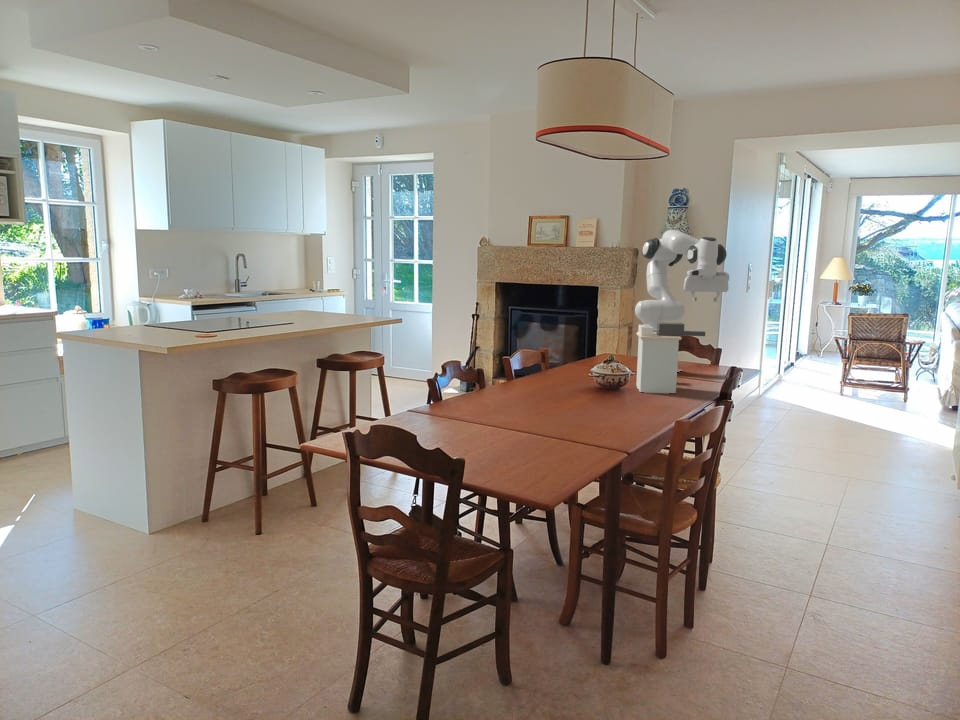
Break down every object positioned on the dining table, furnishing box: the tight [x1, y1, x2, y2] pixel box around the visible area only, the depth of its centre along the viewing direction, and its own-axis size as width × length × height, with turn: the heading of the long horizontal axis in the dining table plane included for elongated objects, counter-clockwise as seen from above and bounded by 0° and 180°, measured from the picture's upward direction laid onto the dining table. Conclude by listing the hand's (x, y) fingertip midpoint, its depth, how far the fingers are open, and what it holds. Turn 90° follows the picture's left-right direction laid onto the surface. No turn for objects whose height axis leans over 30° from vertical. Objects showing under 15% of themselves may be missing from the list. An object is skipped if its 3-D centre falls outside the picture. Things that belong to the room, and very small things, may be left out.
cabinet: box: [635, 331, 683, 394], centre depth 318 cm, size 18×18×26 cm
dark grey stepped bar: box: [653, 321, 706, 337], centre depth 315 cm, size 24×7×6 cm, turn 84°
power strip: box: [637, 323, 653, 336], centre depth 317 cm, size 5×12×4 cm, turn 174°
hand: (704, 301), depth 323 cm, fingers open, 8 cm apart
